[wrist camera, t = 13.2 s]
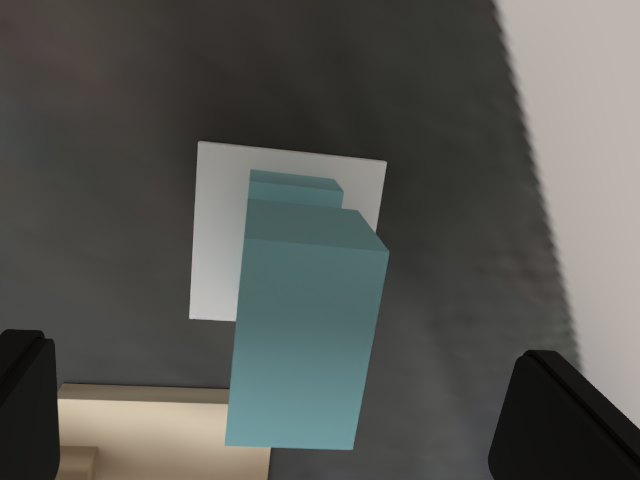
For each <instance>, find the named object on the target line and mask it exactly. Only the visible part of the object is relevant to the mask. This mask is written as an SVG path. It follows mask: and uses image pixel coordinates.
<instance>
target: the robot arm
mask: <svg viewBox="0 0 640 480" xmlns="http://www.w3.org/2000/svg"><path fill="white" fill-rule="evenodd" d="M59 464H60V437H59V418H58V398H57V378H56V359H55V344H54V341H53V339H45V336H44V334H43V332H42V331H41V330H15V329H7V330H5V331H4V332H3V333H2V334H1V335H0V480H55V478H56V475H57V473H58V469H59ZM488 465H489V470H490V472H491V474H492V476H493V478H494V480H640V429H639V428H638V427H637V426H636V425H634V424H633V423H632V422H631V421H630V420H629V419H628V418H627V417H626V416H625V415H624V414H623V413H622V412H621V411H620V410H619V409H617V408H616V407H615V406H614V405H613V404H612V403H611V402H610V401H609V400H608V399H607V398H606V397H604V395H603V394H602V393H600V392H599V391H598V390H597V389H596V388H595V387H594V386H593V385H592V384H591V383H590V382H589V381H588V380H587V379H586V378H585V377H583V376H582V375H581V374H580V373H579V372H578V371H577V370H576V369H575V368H574V367H573V366H572V365H571V364H570V363H569V362H567V361H566V360H565V359H564V358H563V357H562V356H561V355H560V354H559V353H557V352H556V351H548V350H528V351H526V352H525V353H524V354H523V356H521V357H519V358H518V359H517V360H516V362H515V366H514V369H513V373H512V376H511V379H510V383H509V386H508V390H507V393H506V397H505V400H504V403H503V407H502V410H501V414H500V417H499V421H498V424H497V427H496V431H495V434H494V438H493V441H492V445H491V448H490V451H489V455H488Z"/></svg>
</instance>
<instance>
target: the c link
mask: <svg viewBox="0 0 640 480" xmlns="http://www.w3.org/2000/svg"><path fill="white" fill-rule="evenodd" d="M343 195H344V191H343V190H342V188H341V187H340V186H339V184H338V183H337V182H336V181H335V179H331V178H322V177H314V176H305V175H296V174H288V173H279V172H271V171H262V170H253V169H250V179H249V189H248V200H247V210H246V220H245V231H244V241H243V251H242V262H241V272H240V282H239V292H238V303H237V314H236V325H235V336H234V347H233V358H232V369H231V380H230V391H229V402H228V413H227V424H226V435H225V446H242V447H274V448H306V449H338V450H353V444H354V439H355V434H356V428H357V423H358V418H359V412H360V407H361V402H362V396H363V391H364V386H365V380H366V375H367V370H368V365H369V359H370V354H371V349H372V343H373V338H374V333H375V327H376V322H377V317H378V311H379V306H380V301H381V295H382V290H383V285H384V279H385V274H386V269H387V264H388V258H389V253H390V252H389V250H388V249H387V248H386V247H385V245H384V244H383V243H382V241H381V240H380V239H379V237H378V236H377V235H376V233H375V232H374V231H373V229H372V228H371V227H370V225H369V224H368V223H367V221H366V220H365V219H364V217H363V216H362V215H361V214H360V212H359V211H358V210H352V209H343V208H342V202H343Z"/></svg>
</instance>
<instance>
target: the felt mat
mask: <svg viewBox="0 0 640 480" xmlns="http://www.w3.org/2000/svg"><path fill="white" fill-rule="evenodd" d="M386 165H387V162H385V161H383V160H374V159H364V158H355V157H346V156H337V155H327V154H318V153H309V152H299V151H290V150H281V149H272V148H262V147H253V146H244V145H235V144H225V143H216V142H207V141H199V142H198V155H197V175H196V194H195V214H194V234H193V254H192V274H191V294H190V314H189V319H205V320H223V321H236V314H237V303H238V292H239V282H240V272H241V262H242V251H243V241H244V231H245V220H246V210H247V200H248V189H249V179H250V169H253V170H262V171H271V172H279V173H288V174H296V175H305V176H314V177H322V178H331V179H335V181H336V182H337V183H338V184H339V186H340V187H341V188H342V190H343V191H344V195H343V202H342V208H343V209H352V210H358V211H359V212H360V214H361V215H362V216H363V217H364V219H365V220H366V221H367V223H368V224H369V225H370V227H371V228H372V229H373V231H374V232H375V233H376V227H377V221H378V215H379V208H380V202H381V196H382V190H383V184H384V178H385V171H386Z"/></svg>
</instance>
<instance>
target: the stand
mask: <svg viewBox="0 0 640 480" xmlns="http://www.w3.org/2000/svg"><path fill="white" fill-rule="evenodd" d="M229 391H230V389H206V388H179V387H151V386H123V385H95V384H67V383H63V384H62V386H61V387H60V389H59V390H58V392H57V398H58V418H59V437H60V464H59V469H58V473H57V475H56V478H55V480H267V477H268V469H269V460H270V451H271V447H242V446H225V435H226V424H227V413H228V402H229Z"/></svg>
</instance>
